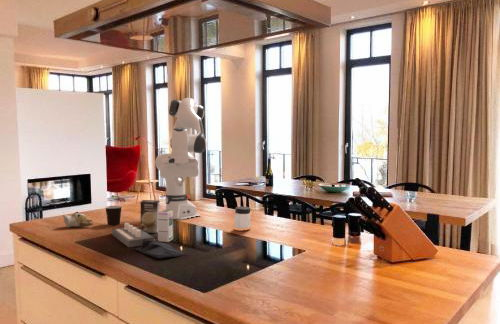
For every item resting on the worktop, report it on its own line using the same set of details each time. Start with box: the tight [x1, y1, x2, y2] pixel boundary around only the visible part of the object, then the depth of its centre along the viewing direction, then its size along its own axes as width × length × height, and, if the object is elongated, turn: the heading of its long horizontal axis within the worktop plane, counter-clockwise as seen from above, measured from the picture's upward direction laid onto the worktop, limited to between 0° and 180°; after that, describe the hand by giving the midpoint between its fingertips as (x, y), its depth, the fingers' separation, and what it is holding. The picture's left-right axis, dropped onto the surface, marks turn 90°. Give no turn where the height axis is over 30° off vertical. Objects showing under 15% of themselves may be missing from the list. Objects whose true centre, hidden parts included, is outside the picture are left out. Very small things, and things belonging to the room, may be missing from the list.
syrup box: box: [157, 209, 174, 243], centre depth 201 cm, size 6×6×14 cm
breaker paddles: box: [123, 222, 141, 238], centre depth 202 cm, size 2×20×3 cm, turn 34°
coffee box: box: [139, 199, 160, 234], centre depth 218 cm, size 9×6×16 cm
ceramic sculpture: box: [62, 211, 94, 229], centre depth 226 cm, size 11×9×15 cm
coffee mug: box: [105, 205, 123, 227], centre depth 234 cm, size 12×9×10 cm
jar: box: [233, 206, 252, 229], centre depth 225 cm, size 9×8×12 cm
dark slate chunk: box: [134, 239, 185, 259], centre depth 181 cm, size 15×22×5 cm
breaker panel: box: [111, 225, 155, 248], centre depth 202 cm, size 12×26×3 cm, turn 34°
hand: (179, 185), depth 214 cm, fingers closed
